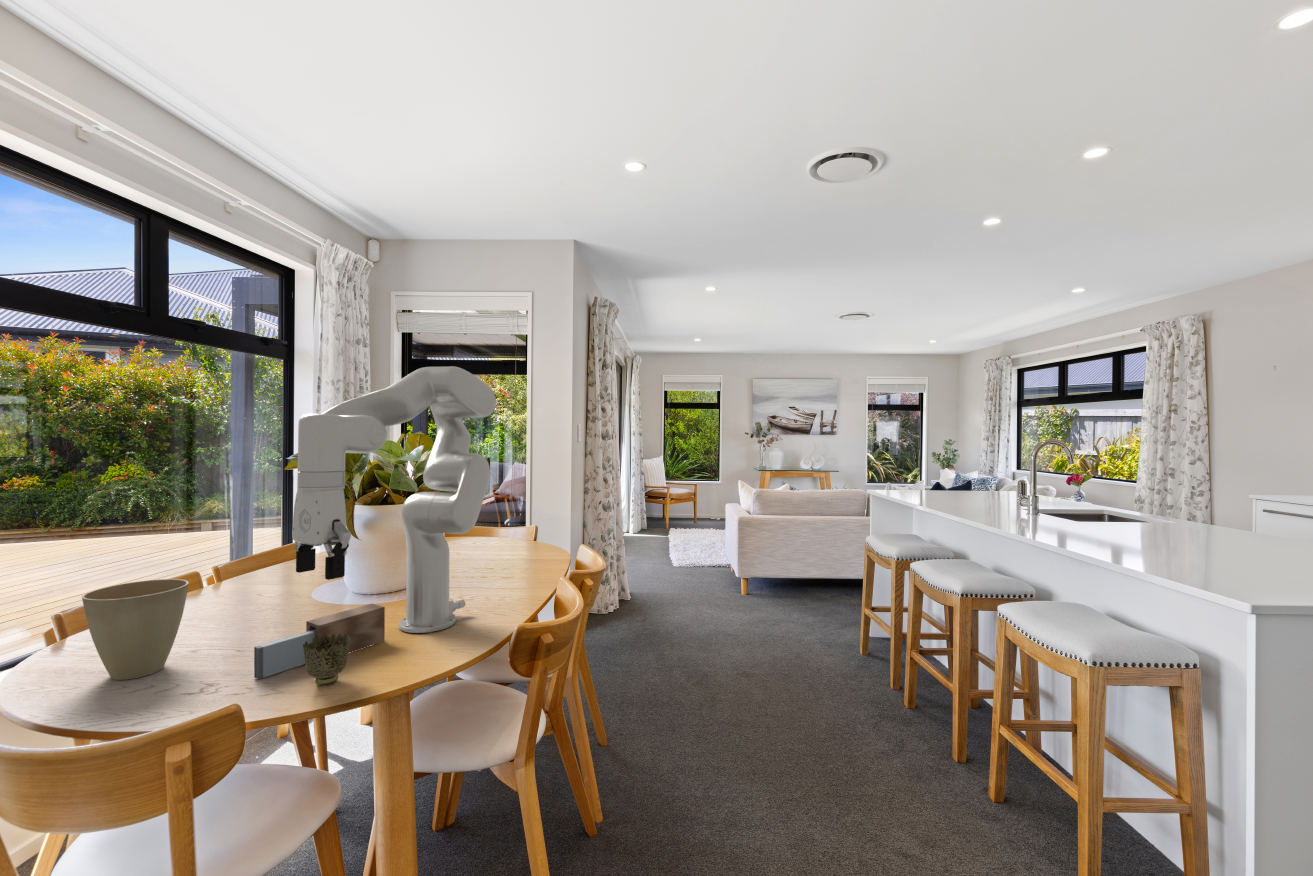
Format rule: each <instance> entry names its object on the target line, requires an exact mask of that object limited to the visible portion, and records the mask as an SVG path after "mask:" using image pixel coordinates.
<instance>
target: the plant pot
mask: <svg viewBox="0 0 1313 876" xmlns="http://www.w3.org/2000/svg"><path fill="white" fill-rule="evenodd" d="M189 584H190V583H189V581H188V580H186V579H181V578H180V579H179V578H163V579H161V578H160V579H150V580H149V579H147V580H140V581H132V582H124V583H119V584H114V585H109V586H105V587H101V588H98V589H94V590H92V591H88V592H86V593H84V594H83V595H82V596H81V600H82V604H83V610H84V613H85V619H86V623H87V627H88V630H89V633H90V636H91V639H92V642H93V644H94V646H95V650H96V652H97V654H98V656H99V658H100V660H101V662H102V664H103V666H104V667H105V668H104V669H106V672H107V673H108V675H109V677H110V678H111V679H113V680H116V681H123V680H126V681H127V680H133V679H137V678H141V677H142V678H143V677H145V676H149V674H150V675H152V674H155V673H157V672H158V671H160V670H162V669H164V667H165V664H166V663H167V660H168V658H169V655H170V653H171V651H172V648H173V645H174V644H175V643H174V642H175V640H176V637H177V634H178V631H179V627H180V625H181V622H182V619H183V614H184V610H185V607H186V605H185V604H186V600H187V595H188V591H189V590H188V589H189Z"/></svg>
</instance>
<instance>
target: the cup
mask: <svg viewBox="0 0 1313 876" xmlns="http://www.w3.org/2000/svg"><path fill="white" fill-rule="evenodd" d="M350 638H351V637H350ZM350 638H349V636H348V637H346V635H345V634H344V635H342V634H341V633H340V634H339V635H338V636H337V638H336V637H335V634H333V635H331V638H330V637H328V636H327V635H326V634H323V635H322V636H320V637H319V638H317V637H314V638H313V641H312V643H309V644H308V642H307V641H305V644H303V649H304V657H305V664H304V665H305V668H306V671H307V673H308V674H309V676H311V677H312V678H314V679H315V680H314V681H315V685H316V686H318V687H321V688H323V687H324V688H325V686H326V687H329V686H332V685H334V684H336V683H337V682H338V680H339V679H340V678H339V674H340V673H341V672H343V670H344V669H345V668H346V666H347V662H348V658H349V654H348V652H349V644H350Z"/></svg>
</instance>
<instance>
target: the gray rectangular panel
mask: <svg viewBox="0 0 1313 876" xmlns="http://www.w3.org/2000/svg"><path fill="white" fill-rule="evenodd" d="M314 637H316V629H315V630H311V631H308V632H306V631H305V632H302V633H298V634H294V635H291V636H288V637H287V636H286V637H284V638H281V639H278V640H277V639H276V640H274V641H270V642H267V643H263V644H259V645H255V646H254V651H253V652H254V653H253V655H254V656H253V657H254V660H253V663H254V664H253V665H254V666H253V667H254V668H253V669H254V670H253V671H254V672H253V673H254V674H253V676H254V677H253V678H255V679H256V680H260V679H264V678H266V677H270V676H273V675H275V674H278V673H281V672H284V671H288V670H291V669H295V668H297V667H300V666H303V665H306V664H305V657H304V649H303V644H305V641H307V642H308V644H309V643H312V641H313V638H314Z"/></svg>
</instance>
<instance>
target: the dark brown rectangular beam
mask: <svg viewBox="0 0 1313 876" xmlns="http://www.w3.org/2000/svg"><path fill="white" fill-rule="evenodd" d="M385 611H386V608H385V606H383V605H380V604H375V603H369V604H365V605H362V606H358V607H353V608H350V609H348V610H347V609H346V610H343V611H339V612H337V613H331V614H329V615H324V616H321V617H317V618H314V619H309V620H306V622H305V623H306V627H305V628H306V631H305V632H308V631H311V630H315V629H316V637H317V638H319V637H320V636H322V635H323V634H326V635H327V636H328V637H330V638H331V635H333V634H335V637H336V638H337V636H338V635H339V634H340V633H341V634H342V635H344V634H345V635H346V637H348V636H349V638H350V637H351V638H350V644H349V652H352V651H355V650H358V649H361V648H364V647H367V646H370V645H373V644H376V645H378V644H377V643H379V644H381V643H380V642H382V643H384V642H383V641H385V634H386V631H385V630H386V629H385V628H386V627H385V626H386V625H385V624H386V620H385V616H386V615H385V613H386V612H385ZM373 646H374V645H373ZM370 647H371V646H370ZM367 648H368V647H367ZM364 649H365V648H364ZM361 650H362V649H361ZM358 651H359V650H358ZM349 652H348V653H349ZM355 652H356V651H355ZM352 653H353V652H352ZM349 654H350V653H349Z"/></svg>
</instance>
